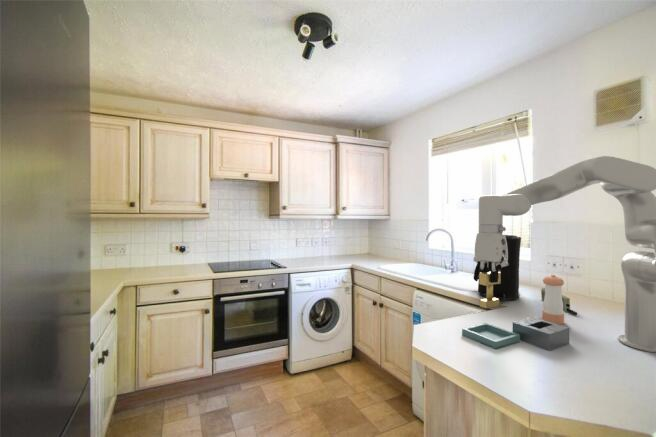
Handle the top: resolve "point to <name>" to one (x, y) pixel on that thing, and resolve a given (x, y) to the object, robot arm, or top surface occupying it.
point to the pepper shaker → (553, 300)
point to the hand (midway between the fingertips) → (489, 280)
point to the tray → (491, 335)
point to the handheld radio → (565, 302)
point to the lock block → (542, 333)
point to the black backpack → (505, 273)
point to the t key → (488, 290)
